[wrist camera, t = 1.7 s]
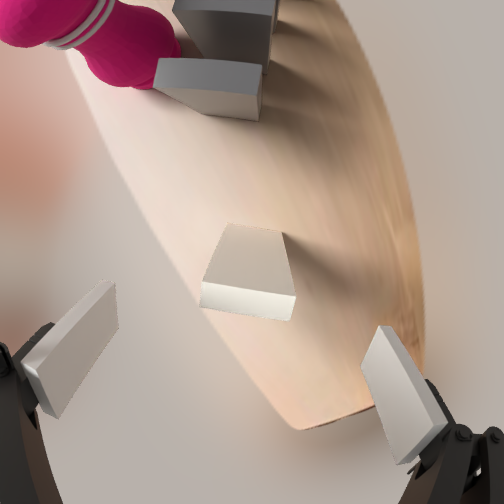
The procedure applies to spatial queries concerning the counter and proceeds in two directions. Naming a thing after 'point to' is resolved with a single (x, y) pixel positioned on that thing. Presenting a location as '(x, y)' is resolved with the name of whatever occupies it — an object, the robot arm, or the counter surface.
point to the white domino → (249, 274)
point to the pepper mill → (95, 35)
